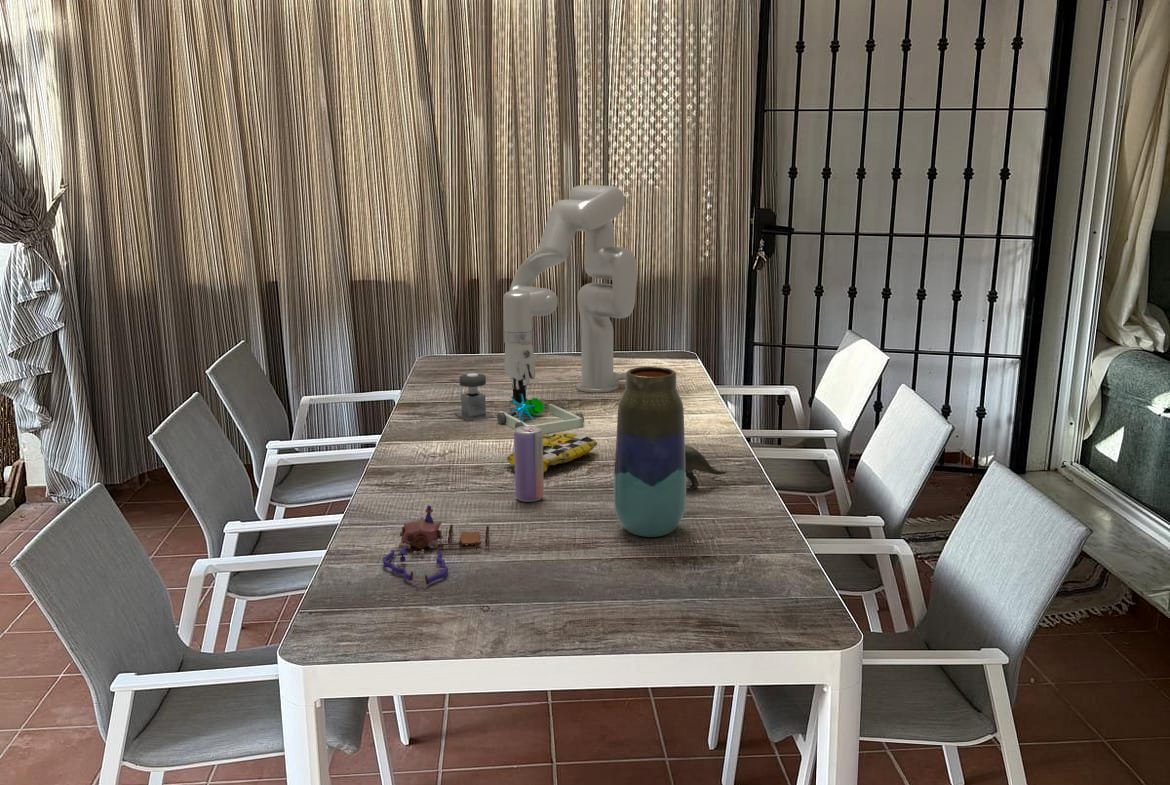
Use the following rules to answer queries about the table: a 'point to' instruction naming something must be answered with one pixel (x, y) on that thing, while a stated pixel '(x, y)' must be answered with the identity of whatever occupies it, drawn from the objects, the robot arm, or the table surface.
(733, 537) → the table surface
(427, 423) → the table surface
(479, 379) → the wheel
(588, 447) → the toy spacecraft
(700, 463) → the dinosaur figurine
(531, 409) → the stick construction toy
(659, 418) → the vase
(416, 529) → the playset
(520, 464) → the beverage can
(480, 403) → the axle mount
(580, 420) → the chassis bay
